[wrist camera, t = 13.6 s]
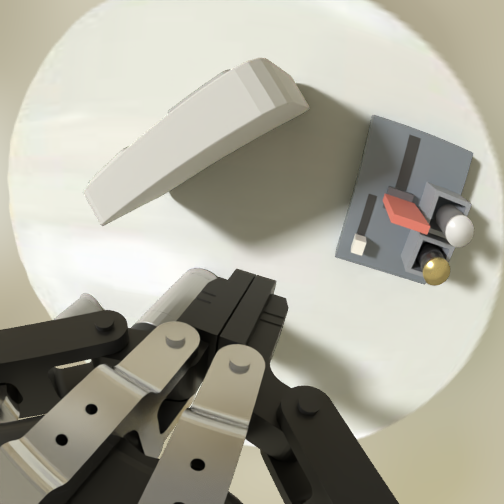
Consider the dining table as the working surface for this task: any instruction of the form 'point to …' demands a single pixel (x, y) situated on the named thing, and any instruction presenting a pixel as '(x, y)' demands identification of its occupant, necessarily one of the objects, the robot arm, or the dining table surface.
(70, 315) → the grey mug
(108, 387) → the robot arm
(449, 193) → the console
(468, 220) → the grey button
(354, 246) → the slider knob
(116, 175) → the rounded white slab
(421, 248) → the brass button
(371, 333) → the dining table surface
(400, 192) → the red lever
